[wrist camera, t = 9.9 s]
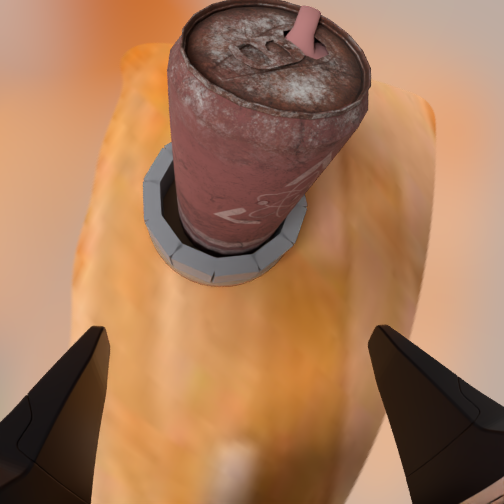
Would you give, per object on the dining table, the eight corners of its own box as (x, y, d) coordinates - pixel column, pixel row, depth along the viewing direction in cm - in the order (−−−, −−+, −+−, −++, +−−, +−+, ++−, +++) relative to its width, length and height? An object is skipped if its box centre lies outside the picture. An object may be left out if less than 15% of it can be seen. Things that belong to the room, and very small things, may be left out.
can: (282, 186, 22) (380, 28, 8) (259, 272, 20) (382, 161, 6) (199, 160, 21) (217, -25, 8) (167, 244, 19) (124, 81, 6)
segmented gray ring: (262, 310, 20) (275, 306, 17) (123, 250, 20) (110, 234, 16) (308, 184, 23) (325, 162, 20) (187, 133, 22) (187, 104, 19)
